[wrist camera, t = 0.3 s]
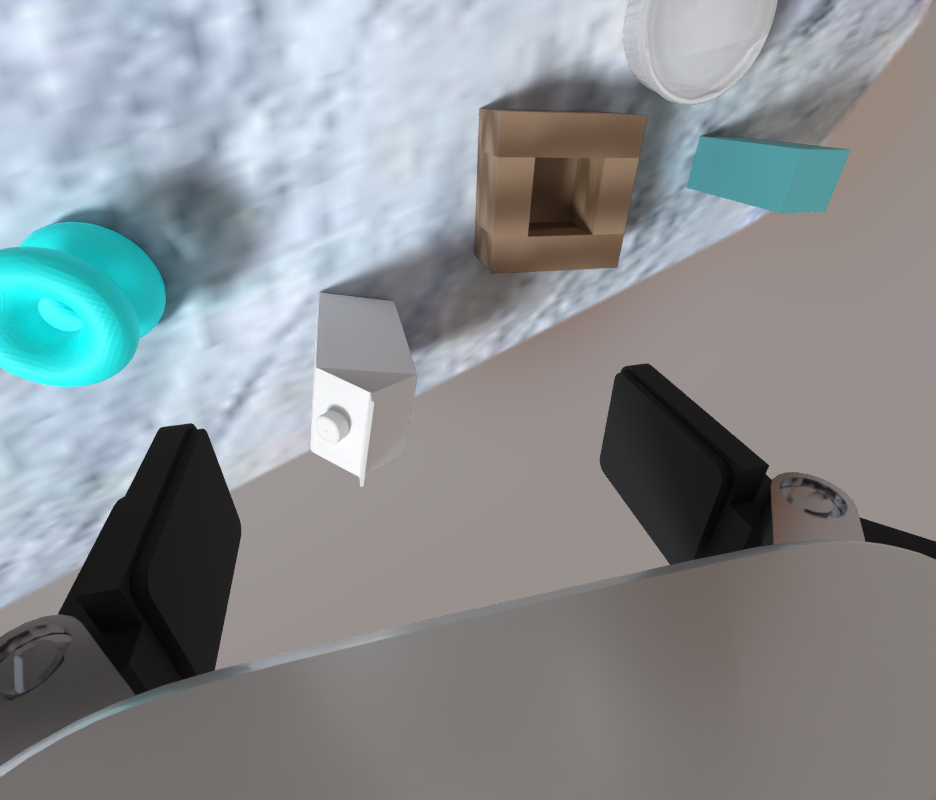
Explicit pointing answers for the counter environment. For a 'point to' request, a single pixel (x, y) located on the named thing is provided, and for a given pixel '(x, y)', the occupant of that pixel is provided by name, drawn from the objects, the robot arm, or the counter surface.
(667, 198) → the counter surface
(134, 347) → the teal stacked rings
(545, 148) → the socket block
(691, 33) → the ramekin
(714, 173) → the peg
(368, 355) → the milk carton
